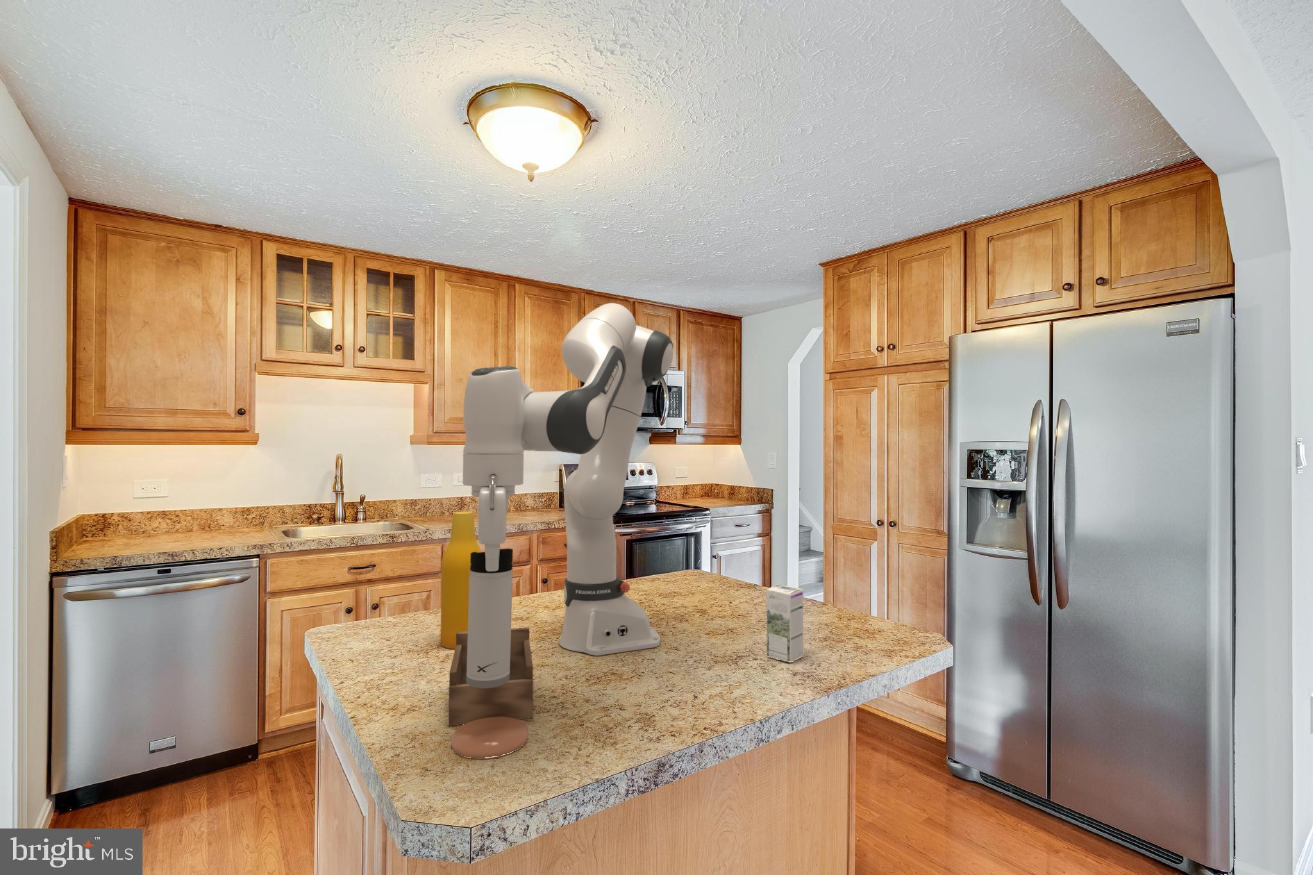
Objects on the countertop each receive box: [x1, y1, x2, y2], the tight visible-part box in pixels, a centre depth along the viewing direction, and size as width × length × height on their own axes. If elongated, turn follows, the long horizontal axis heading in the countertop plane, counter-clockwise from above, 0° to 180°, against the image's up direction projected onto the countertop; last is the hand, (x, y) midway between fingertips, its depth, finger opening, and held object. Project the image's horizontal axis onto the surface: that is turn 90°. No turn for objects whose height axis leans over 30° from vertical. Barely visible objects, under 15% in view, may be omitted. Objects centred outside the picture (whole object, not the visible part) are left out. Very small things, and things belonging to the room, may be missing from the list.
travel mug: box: [466, 548, 514, 688], centre depth 93 cm, size 6×7×20 cm
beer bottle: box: [439, 511, 482, 650], centre depth 139 cm, size 9×9×29 cm
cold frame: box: [448, 627, 534, 727], centre depth 107 cm, size 13×16×10 cm
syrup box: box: [766, 584, 804, 661], centre depth 130 cm, size 6×6×14 cm
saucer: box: [451, 717, 529, 758], centre depth 93 cm, size 11×11×1 cm
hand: (492, 565), depth 94 cm, fingers closed on travel mug, 6 cm apart
